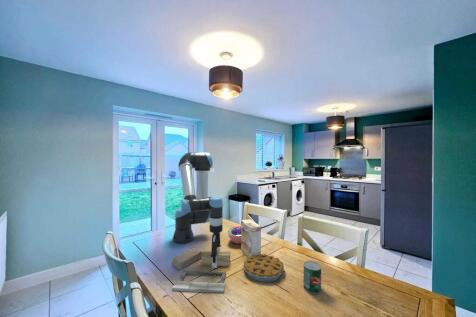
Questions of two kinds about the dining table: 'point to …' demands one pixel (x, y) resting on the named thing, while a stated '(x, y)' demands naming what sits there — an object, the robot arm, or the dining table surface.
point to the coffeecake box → (250, 238)
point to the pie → (263, 267)
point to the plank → (222, 258)
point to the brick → (186, 258)
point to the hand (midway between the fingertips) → (216, 262)
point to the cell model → (235, 234)
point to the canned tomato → (312, 277)
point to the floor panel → (200, 283)
